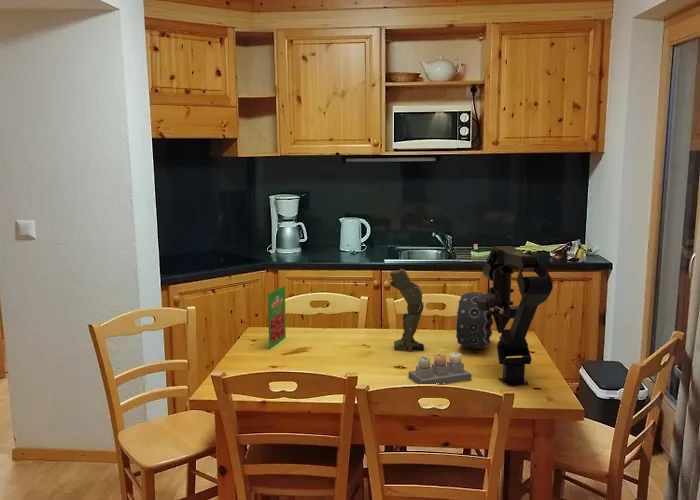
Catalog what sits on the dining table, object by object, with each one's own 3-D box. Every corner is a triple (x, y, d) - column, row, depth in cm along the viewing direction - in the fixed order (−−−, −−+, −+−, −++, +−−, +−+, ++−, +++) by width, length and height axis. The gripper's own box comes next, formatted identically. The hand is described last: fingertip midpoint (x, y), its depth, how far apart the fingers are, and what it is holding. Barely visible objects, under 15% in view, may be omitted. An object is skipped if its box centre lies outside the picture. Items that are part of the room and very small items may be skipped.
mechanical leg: (434, 343, 234) (415, 263, 230) (434, 350, 227) (415, 267, 223) (396, 351, 236) (377, 272, 232) (396, 357, 229) (376, 276, 225)
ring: (453, 354, 225) (455, 297, 222) (464, 338, 244) (465, 286, 241) (485, 357, 222) (487, 300, 218) (493, 341, 240) (495, 288, 237)
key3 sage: (432, 374, 198) (432, 359, 197) (421, 376, 197) (422, 360, 196) (426, 371, 201) (426, 355, 201) (416, 372, 200) (416, 357, 199)
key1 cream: (463, 370, 202) (463, 354, 201) (453, 371, 201) (453, 356, 200) (457, 366, 205) (457, 351, 205) (447, 368, 204) (447, 352, 203)
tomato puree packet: (270, 349, 230) (269, 294, 226) (267, 349, 230) (266, 294, 227) (286, 337, 244) (286, 285, 241) (284, 337, 244) (283, 285, 241)
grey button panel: (471, 379, 201) (471, 365, 200) (422, 387, 194) (422, 373, 193) (455, 370, 209) (456, 357, 208) (408, 377, 202) (408, 363, 202)
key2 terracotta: (447, 372, 200) (448, 356, 199) (437, 374, 199) (438, 358, 198) (441, 368, 203) (442, 353, 203) (431, 370, 202) (432, 354, 201)
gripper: (464, 281, 212) (462, 327, 214) (497, 293, 195) (495, 343, 197) (493, 279, 216) (491, 324, 219) (528, 290, 199) (526, 339, 201)
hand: (500, 332), depth 209 cm, fingers closed
